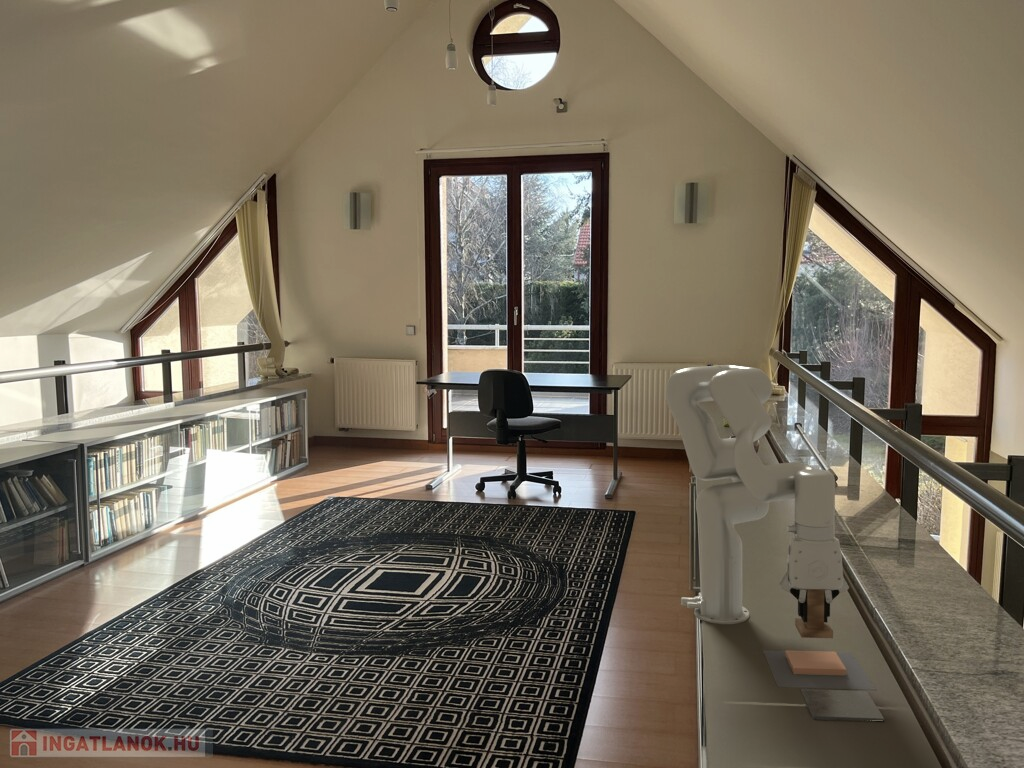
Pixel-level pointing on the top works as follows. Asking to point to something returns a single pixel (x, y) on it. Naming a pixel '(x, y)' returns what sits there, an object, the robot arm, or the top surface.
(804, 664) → the tile
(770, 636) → the top surface
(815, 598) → the wooden block
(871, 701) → the plate
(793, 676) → the mat
